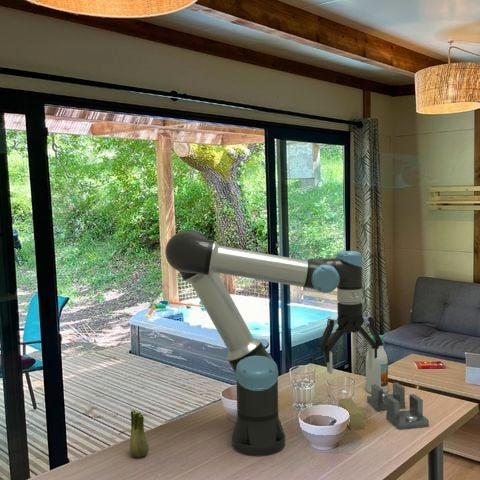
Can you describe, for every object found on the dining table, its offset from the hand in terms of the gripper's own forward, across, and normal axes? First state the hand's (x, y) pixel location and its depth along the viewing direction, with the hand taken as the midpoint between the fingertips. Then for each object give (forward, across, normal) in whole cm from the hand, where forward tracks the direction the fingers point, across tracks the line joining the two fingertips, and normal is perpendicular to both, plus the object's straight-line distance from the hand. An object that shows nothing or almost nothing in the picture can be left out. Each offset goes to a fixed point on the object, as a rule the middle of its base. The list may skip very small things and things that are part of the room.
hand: (350, 370), depth 157 cm
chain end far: (+16, +16, +9) cm, 24 cm away
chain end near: (+16, +16, -5) cm, 23 cm away
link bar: (+16, 0, 0) cm, 16 cm away
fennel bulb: (+16, -64, -7) cm, 66 cm away
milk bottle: (+16, +19, +22) cm, 33 cm away
